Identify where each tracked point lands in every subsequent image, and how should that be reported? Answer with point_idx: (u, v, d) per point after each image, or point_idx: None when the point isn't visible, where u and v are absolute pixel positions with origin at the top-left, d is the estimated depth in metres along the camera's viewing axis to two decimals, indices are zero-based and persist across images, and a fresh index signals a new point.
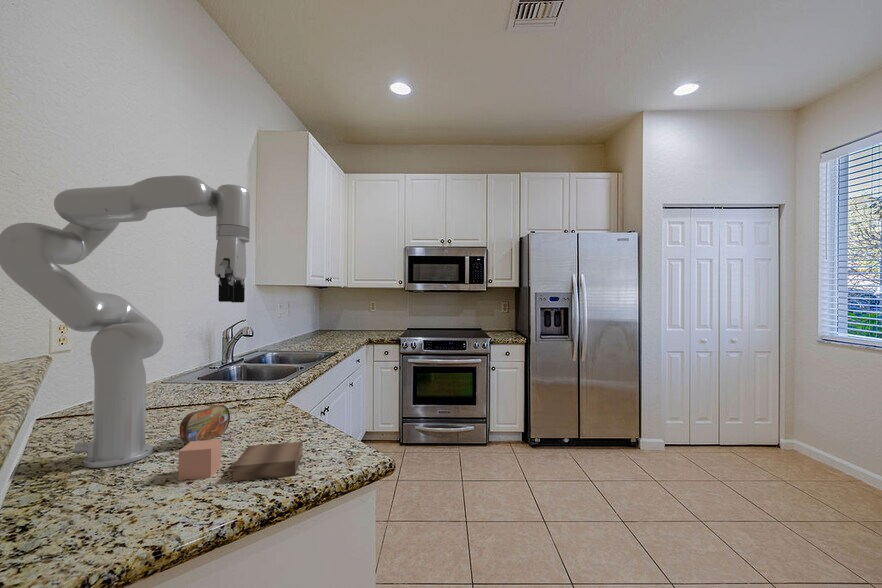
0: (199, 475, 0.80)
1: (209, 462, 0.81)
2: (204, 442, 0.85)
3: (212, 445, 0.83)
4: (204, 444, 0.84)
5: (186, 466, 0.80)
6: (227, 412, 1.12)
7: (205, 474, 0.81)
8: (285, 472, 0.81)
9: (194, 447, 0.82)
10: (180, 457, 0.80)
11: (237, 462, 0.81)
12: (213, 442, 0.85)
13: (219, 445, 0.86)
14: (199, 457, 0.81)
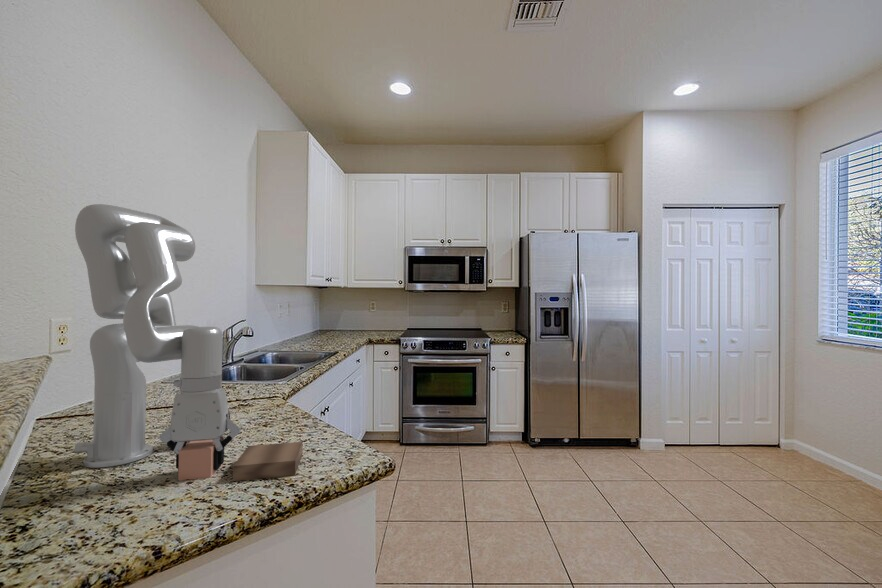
0: (199, 475, 0.80)
1: (209, 462, 0.81)
2: (204, 442, 0.85)
3: (212, 445, 0.83)
4: (204, 444, 0.84)
5: (186, 465, 0.80)
6: None
7: (205, 474, 0.81)
8: (285, 472, 0.81)
9: (194, 447, 0.82)
10: (180, 457, 0.80)
11: (237, 462, 0.81)
12: None
13: None
14: (199, 457, 0.81)
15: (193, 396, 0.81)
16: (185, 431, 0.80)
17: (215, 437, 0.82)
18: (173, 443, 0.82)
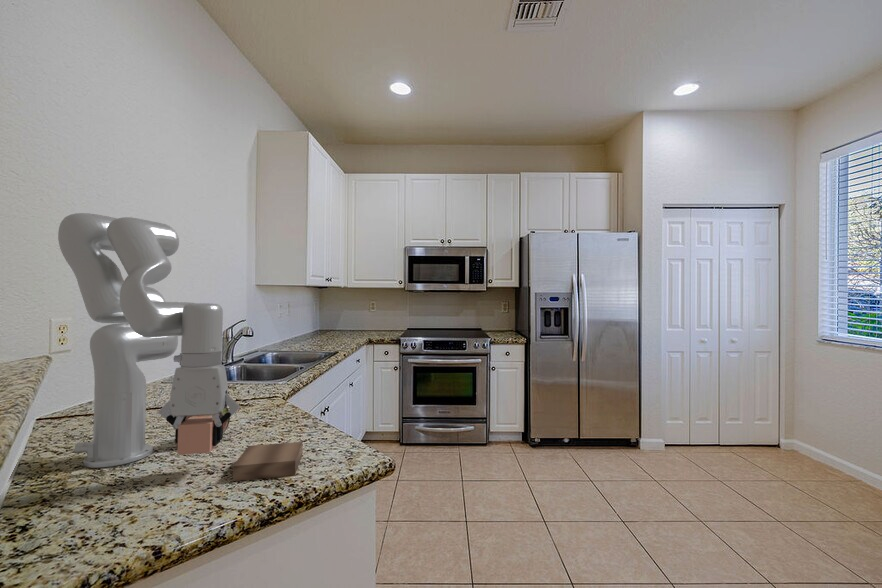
0: (198, 449, 0.81)
1: (208, 437, 0.81)
2: (204, 418, 0.85)
3: (211, 421, 0.83)
4: (203, 419, 0.84)
5: (185, 440, 0.80)
6: None
7: (204, 449, 0.81)
8: (285, 472, 0.81)
9: (193, 422, 0.82)
10: (179, 431, 0.80)
11: (237, 462, 0.81)
12: (212, 418, 0.85)
13: None
14: (198, 432, 0.81)
15: (193, 371, 0.81)
16: (184, 406, 0.81)
17: (214, 413, 0.82)
18: (172, 418, 0.82)
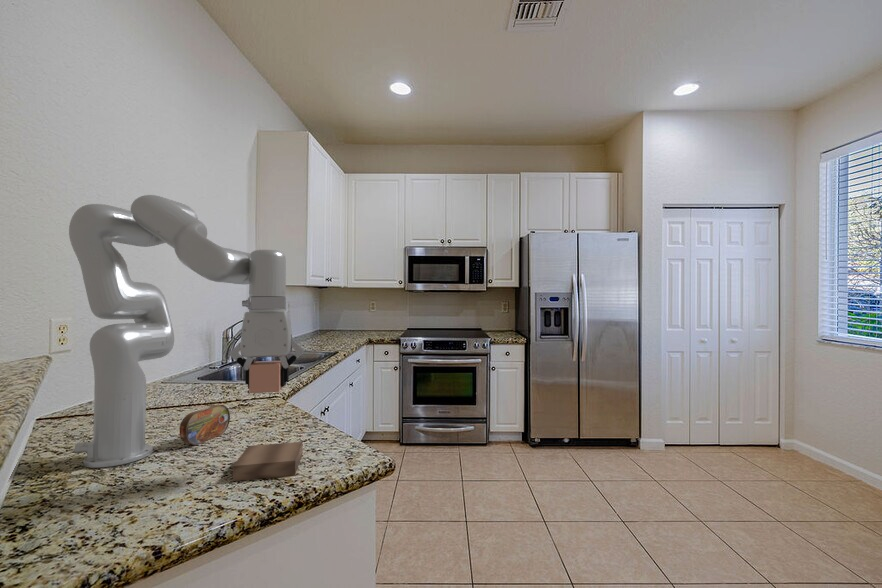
0: (268, 389, 0.84)
1: (277, 377, 0.84)
2: (270, 361, 0.88)
3: (278, 362, 0.86)
4: (270, 362, 0.87)
5: (256, 379, 0.83)
6: (227, 412, 1.12)
7: (274, 388, 0.84)
8: (285, 472, 0.81)
9: (262, 363, 0.85)
10: (250, 371, 0.83)
11: (237, 462, 0.81)
12: (278, 361, 0.88)
13: None
14: (268, 371, 0.84)
15: (262, 314, 0.85)
16: (255, 347, 0.84)
17: (282, 354, 0.85)
18: (242, 360, 0.85)
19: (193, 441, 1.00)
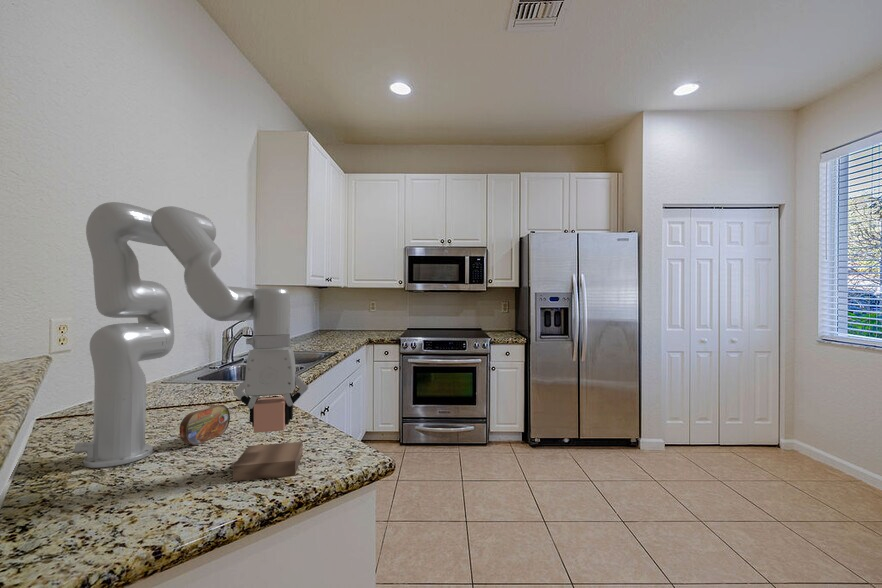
0: (273, 428, 0.84)
1: (282, 415, 0.84)
2: (274, 398, 0.88)
3: (283, 400, 0.86)
4: (275, 400, 0.87)
5: (260, 419, 0.83)
6: (227, 412, 1.12)
7: (278, 427, 0.84)
8: (285, 472, 0.81)
9: (266, 402, 0.85)
10: (255, 410, 0.83)
11: (237, 462, 0.81)
12: (282, 398, 0.88)
13: None
14: (272, 410, 0.84)
15: (266, 353, 0.84)
16: (259, 386, 0.84)
17: (287, 392, 0.85)
18: (247, 398, 0.85)
19: (193, 441, 1.00)
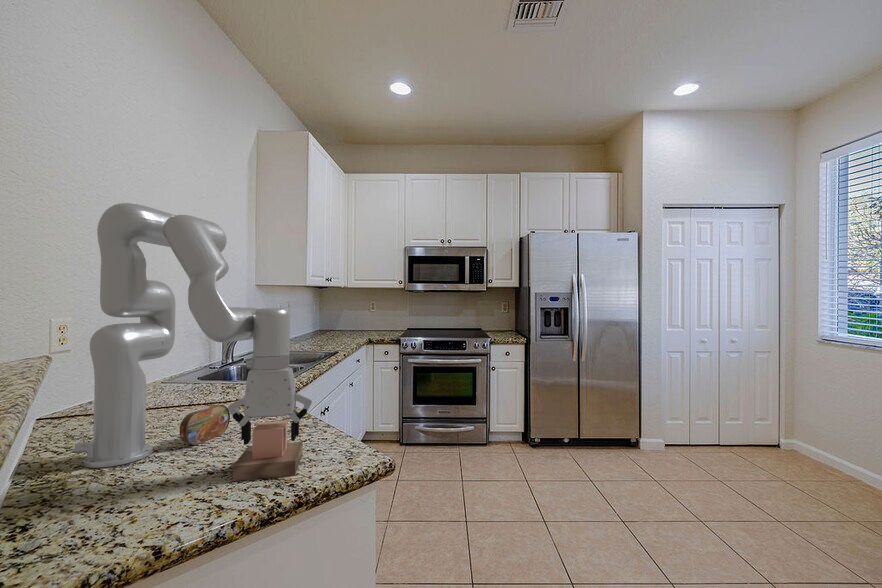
0: (271, 454, 0.84)
1: (280, 441, 0.84)
2: (273, 423, 0.88)
3: (282, 426, 0.86)
4: (274, 425, 0.87)
5: (259, 445, 0.83)
6: (227, 412, 1.12)
7: (277, 453, 0.84)
8: (285, 472, 0.81)
9: (265, 427, 0.85)
10: (254, 436, 0.83)
11: (237, 462, 0.81)
12: (281, 423, 0.88)
13: (286, 426, 0.90)
14: (271, 436, 0.84)
15: (265, 374, 0.84)
16: (258, 407, 0.84)
17: (286, 413, 0.85)
18: (238, 415, 0.85)
19: (193, 441, 1.00)
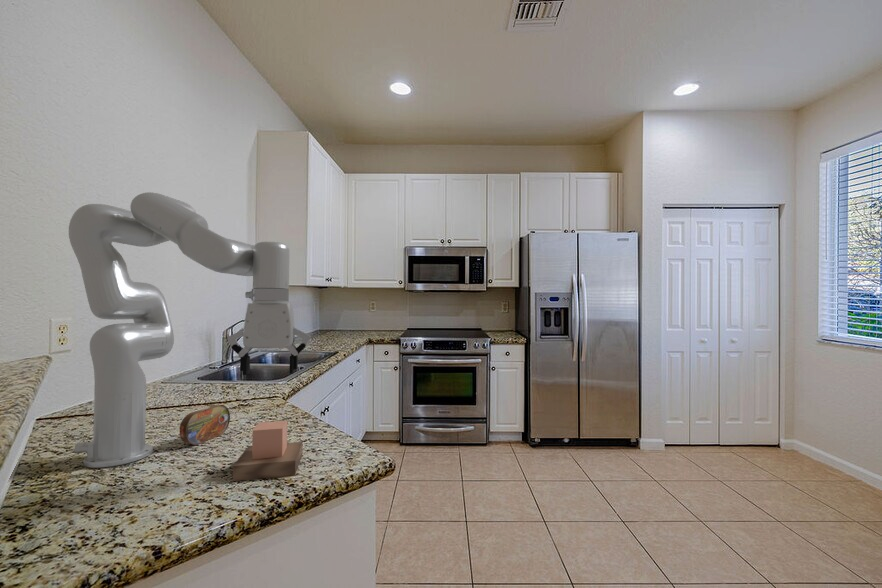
0: (271, 454, 0.84)
1: (280, 441, 0.84)
2: (273, 423, 0.88)
3: (282, 426, 0.86)
4: (274, 425, 0.87)
5: (259, 445, 0.83)
6: (227, 412, 1.12)
7: (277, 453, 0.84)
8: (285, 472, 0.81)
9: (265, 427, 0.85)
10: (254, 436, 0.83)
11: (237, 462, 0.81)
12: (281, 423, 0.88)
13: (286, 426, 0.90)
14: (271, 436, 0.84)
15: (265, 305, 0.85)
16: (257, 338, 0.84)
17: (285, 345, 0.86)
18: (237, 347, 0.85)
19: (193, 441, 1.00)
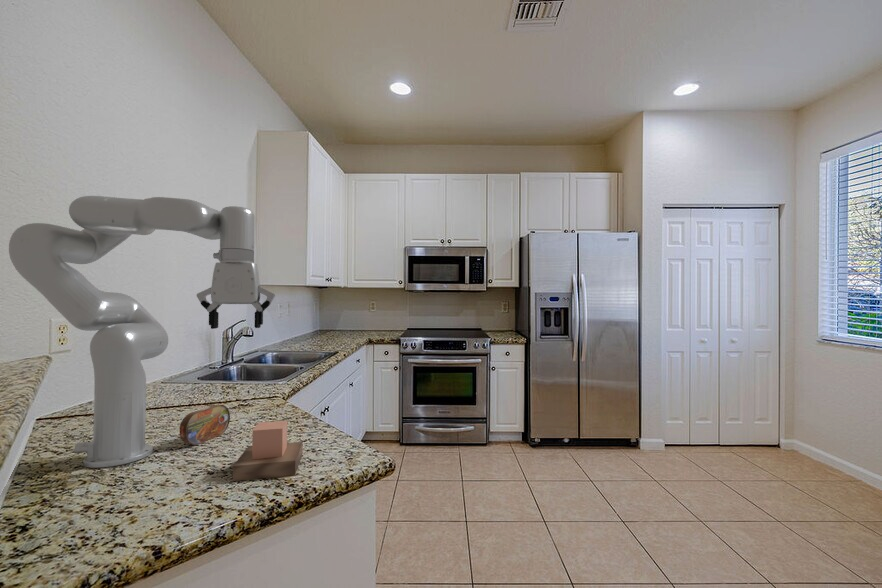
0: (271, 454, 0.84)
1: (280, 441, 0.84)
2: (273, 423, 0.88)
3: (282, 426, 0.86)
4: (274, 425, 0.87)
5: (259, 445, 0.83)
6: (227, 412, 1.12)
7: (277, 453, 0.84)
8: (285, 472, 0.81)
9: (265, 427, 0.85)
10: (254, 436, 0.83)
11: (237, 462, 0.81)
12: (281, 423, 0.88)
13: (286, 426, 0.90)
14: (271, 436, 0.84)
15: (231, 265, 0.93)
16: (224, 294, 0.92)
17: (250, 301, 0.93)
18: (206, 303, 0.93)
19: (193, 441, 1.00)
